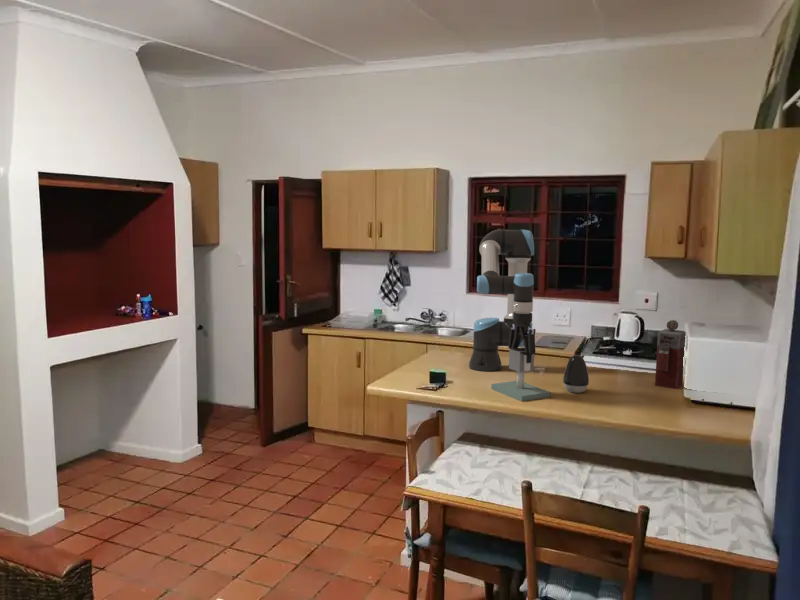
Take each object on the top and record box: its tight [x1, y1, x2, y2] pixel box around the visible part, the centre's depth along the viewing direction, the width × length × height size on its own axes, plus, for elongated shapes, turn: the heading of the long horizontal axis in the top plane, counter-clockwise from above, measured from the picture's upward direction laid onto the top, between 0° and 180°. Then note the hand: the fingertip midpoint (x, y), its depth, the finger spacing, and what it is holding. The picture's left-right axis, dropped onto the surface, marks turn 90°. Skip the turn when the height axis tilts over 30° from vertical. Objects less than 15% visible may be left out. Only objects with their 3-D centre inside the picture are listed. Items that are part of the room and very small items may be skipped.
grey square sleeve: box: [508, 347, 535, 372], centre depth 259 cm, size 7×7×8 cm
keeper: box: [490, 371, 551, 402], centre depth 259 cm, size 20×14×14 cm
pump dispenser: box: [562, 354, 590, 394], centre depth 262 cm, size 10×10×15 cm
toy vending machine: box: [654, 319, 687, 390], centre depth 272 cm, size 9×11×28 cm
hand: (520, 368), depth 259 cm, fingers closed on grey square sleeve, 7 cm apart
